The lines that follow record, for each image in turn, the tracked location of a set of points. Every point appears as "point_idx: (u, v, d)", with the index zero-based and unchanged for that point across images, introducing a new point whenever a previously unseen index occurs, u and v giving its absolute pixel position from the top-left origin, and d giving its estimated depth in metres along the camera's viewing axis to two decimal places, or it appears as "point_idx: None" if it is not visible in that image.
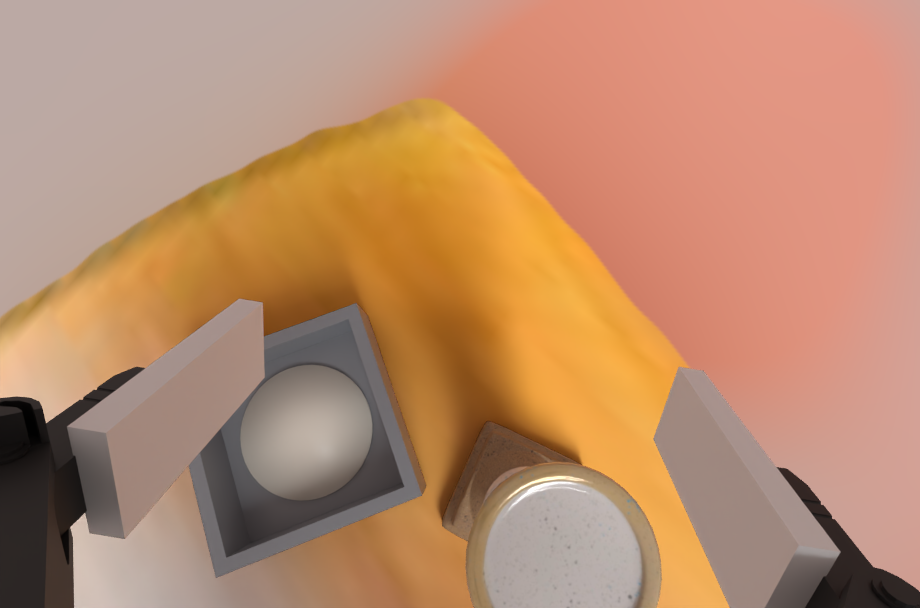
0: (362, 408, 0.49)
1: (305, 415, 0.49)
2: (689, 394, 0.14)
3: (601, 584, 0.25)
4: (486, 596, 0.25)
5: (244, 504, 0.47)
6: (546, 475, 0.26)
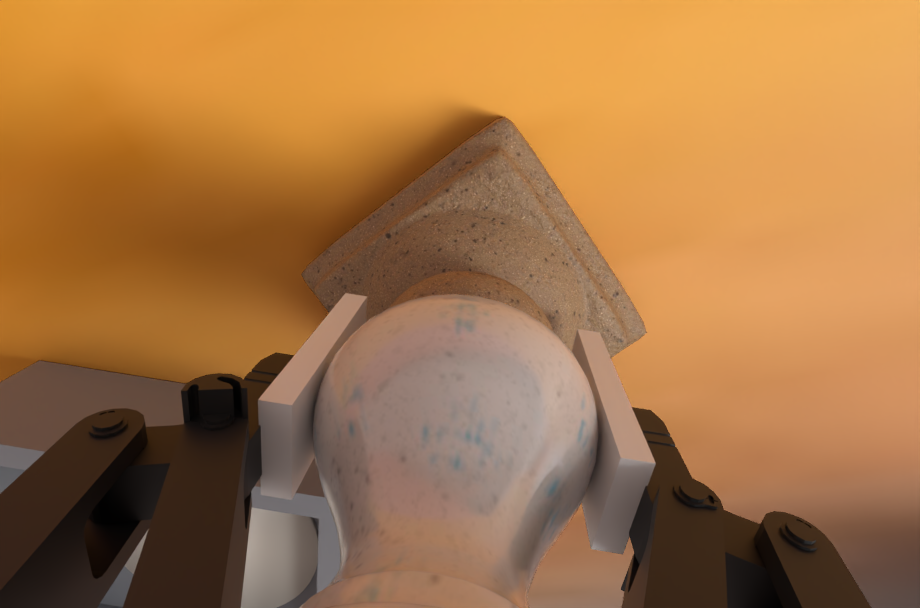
0: None
1: None
2: (580, 351, 0.16)
3: None
4: None
5: None
6: None
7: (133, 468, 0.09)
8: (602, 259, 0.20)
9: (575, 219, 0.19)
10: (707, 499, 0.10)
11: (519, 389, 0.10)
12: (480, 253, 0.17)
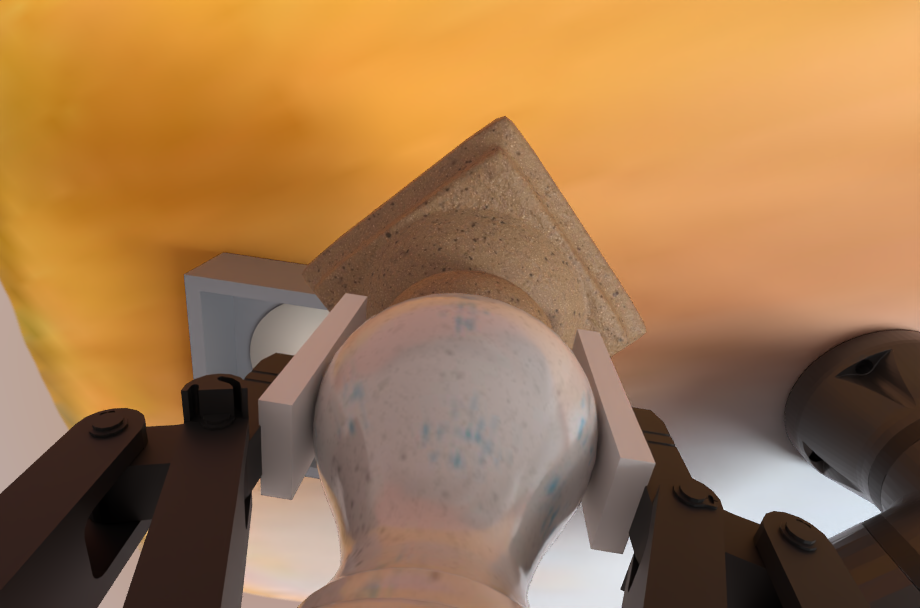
0: None
1: None
2: (580, 351, 0.16)
3: None
4: None
5: None
6: None
7: (133, 468, 0.09)
8: (602, 258, 0.20)
9: (575, 218, 0.19)
10: (707, 499, 0.10)
11: (520, 387, 0.10)
12: (480, 252, 0.17)
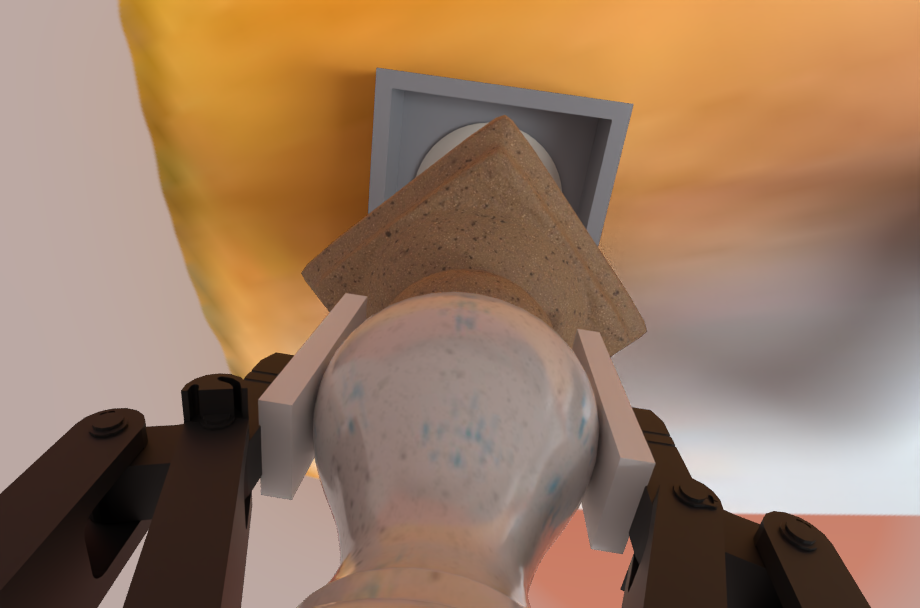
0: None
1: None
2: (580, 351, 0.16)
3: None
4: None
5: None
6: None
7: (133, 468, 0.09)
8: (602, 257, 0.20)
9: (575, 217, 0.19)
10: (707, 499, 0.10)
11: (520, 386, 0.10)
12: (480, 251, 0.17)
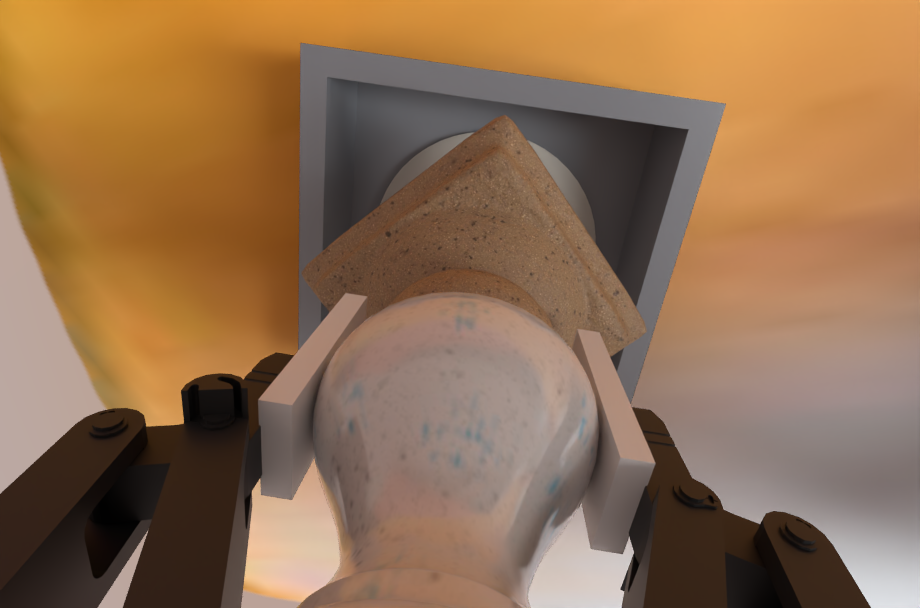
0: None
1: None
2: (580, 351, 0.16)
3: None
4: None
5: None
6: None
7: (133, 468, 0.09)
8: (602, 258, 0.20)
9: (575, 217, 0.19)
10: (707, 499, 0.10)
11: (520, 387, 0.10)
12: (480, 251, 0.17)
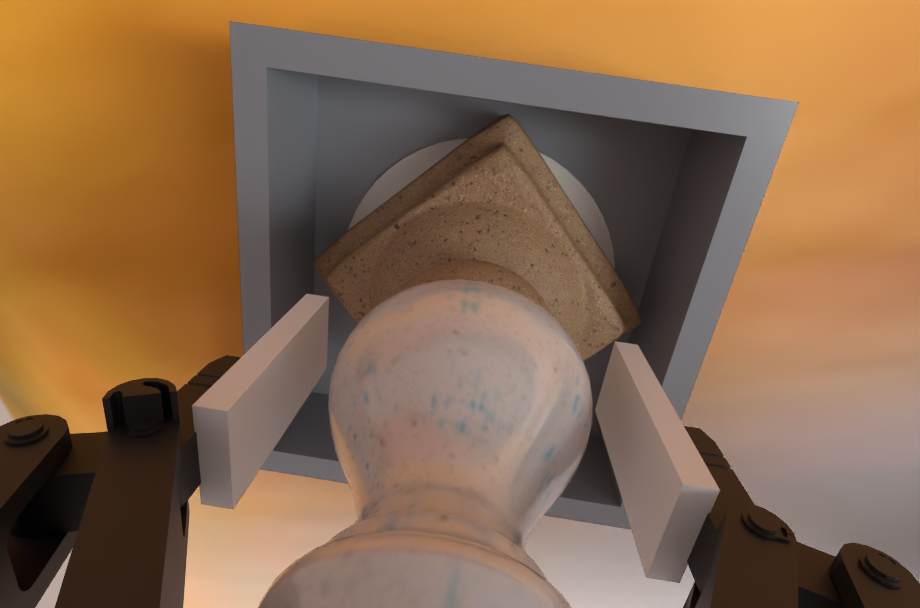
0: None
1: None
2: (620, 365, 0.15)
3: None
4: None
5: None
6: None
7: (58, 475, 0.09)
8: (600, 251, 0.21)
9: (575, 212, 0.20)
10: (779, 531, 0.09)
11: (520, 364, 0.11)
12: (484, 244, 0.18)
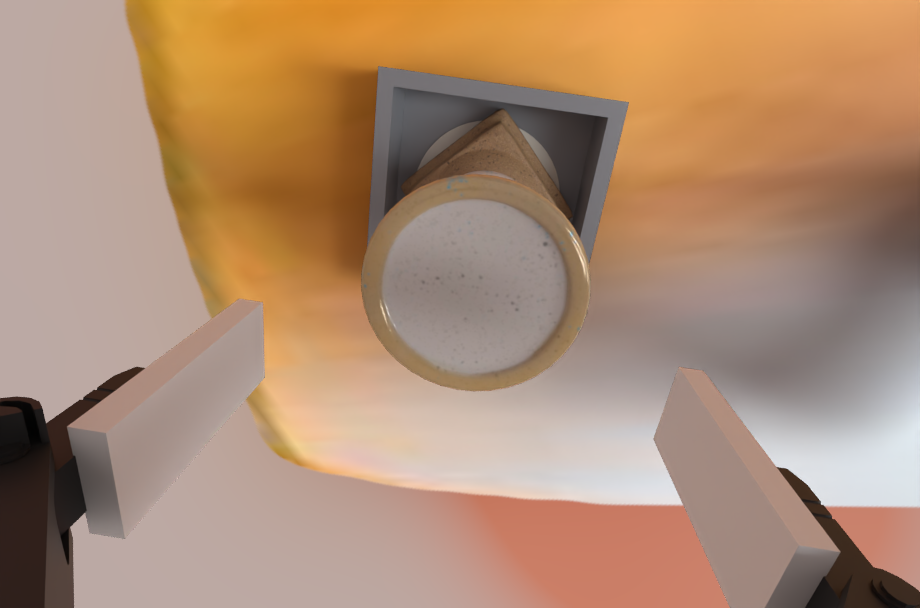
0: None
1: None
2: (689, 394, 0.14)
3: (516, 264, 0.21)
4: (458, 376, 0.23)
5: None
6: (375, 260, 0.21)
7: None
8: (549, 177, 0.41)
9: (536, 157, 0.40)
10: None
11: None
12: (491, 168, 0.38)
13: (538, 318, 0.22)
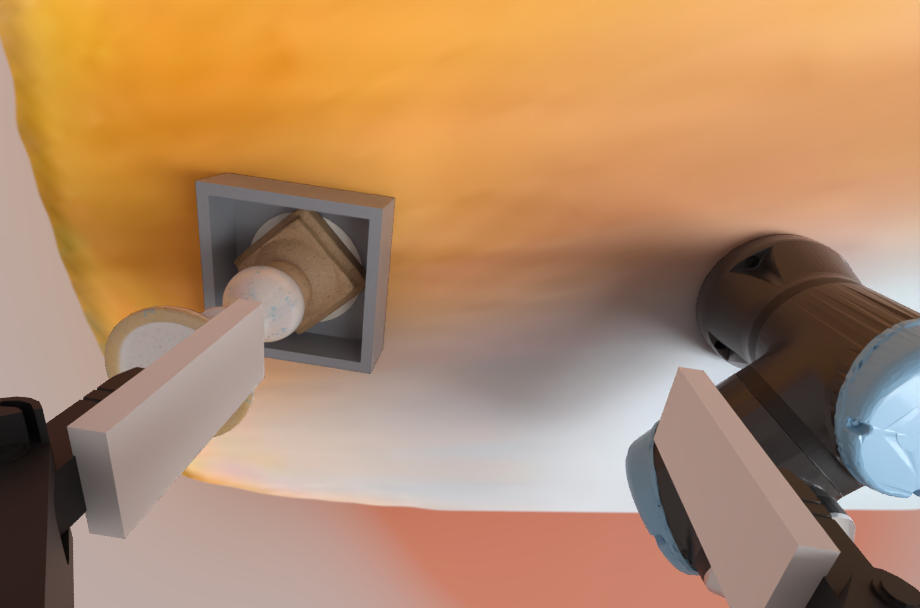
0: None
1: None
2: (689, 394, 0.14)
3: None
4: None
5: (342, 335, 0.58)
6: (110, 357, 0.33)
7: None
8: (345, 256, 0.52)
9: (332, 241, 0.52)
10: (919, 607, 0.08)
11: (267, 286, 0.42)
12: (289, 254, 0.49)
13: None
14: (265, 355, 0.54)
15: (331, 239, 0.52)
